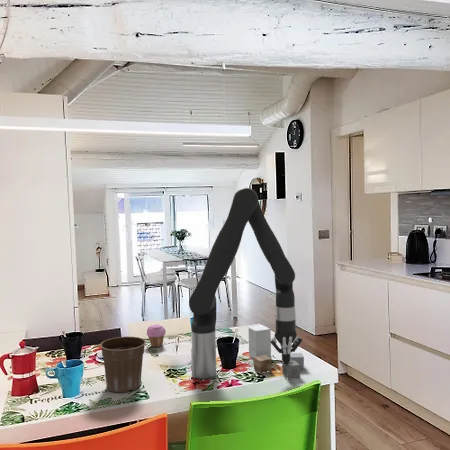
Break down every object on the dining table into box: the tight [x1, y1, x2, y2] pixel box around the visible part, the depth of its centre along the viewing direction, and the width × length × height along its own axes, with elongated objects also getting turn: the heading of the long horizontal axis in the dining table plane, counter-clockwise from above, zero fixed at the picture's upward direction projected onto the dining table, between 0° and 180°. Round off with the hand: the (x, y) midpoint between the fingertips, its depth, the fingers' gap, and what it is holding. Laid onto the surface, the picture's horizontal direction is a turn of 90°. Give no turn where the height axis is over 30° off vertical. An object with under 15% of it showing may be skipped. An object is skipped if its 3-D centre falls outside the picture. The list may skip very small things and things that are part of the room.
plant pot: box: [99, 336, 147, 394], centre depth 160 cm, size 16×16×16 cm
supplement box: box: [248, 324, 272, 360], centre depth 188 cm, size 7×7×13 cm
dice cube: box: [281, 360, 301, 380], centre depth 167 cm, size 5×5×5 cm
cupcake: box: [146, 323, 166, 348], centre depth 207 cm, size 9×9×10 cm
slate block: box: [290, 352, 305, 370], centre depth 176 cm, size 5×5×5 cm
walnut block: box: [253, 355, 272, 374], centre depth 173 cm, size 5×5×5 cm
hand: (286, 363), depth 166 cm, fingers closed
